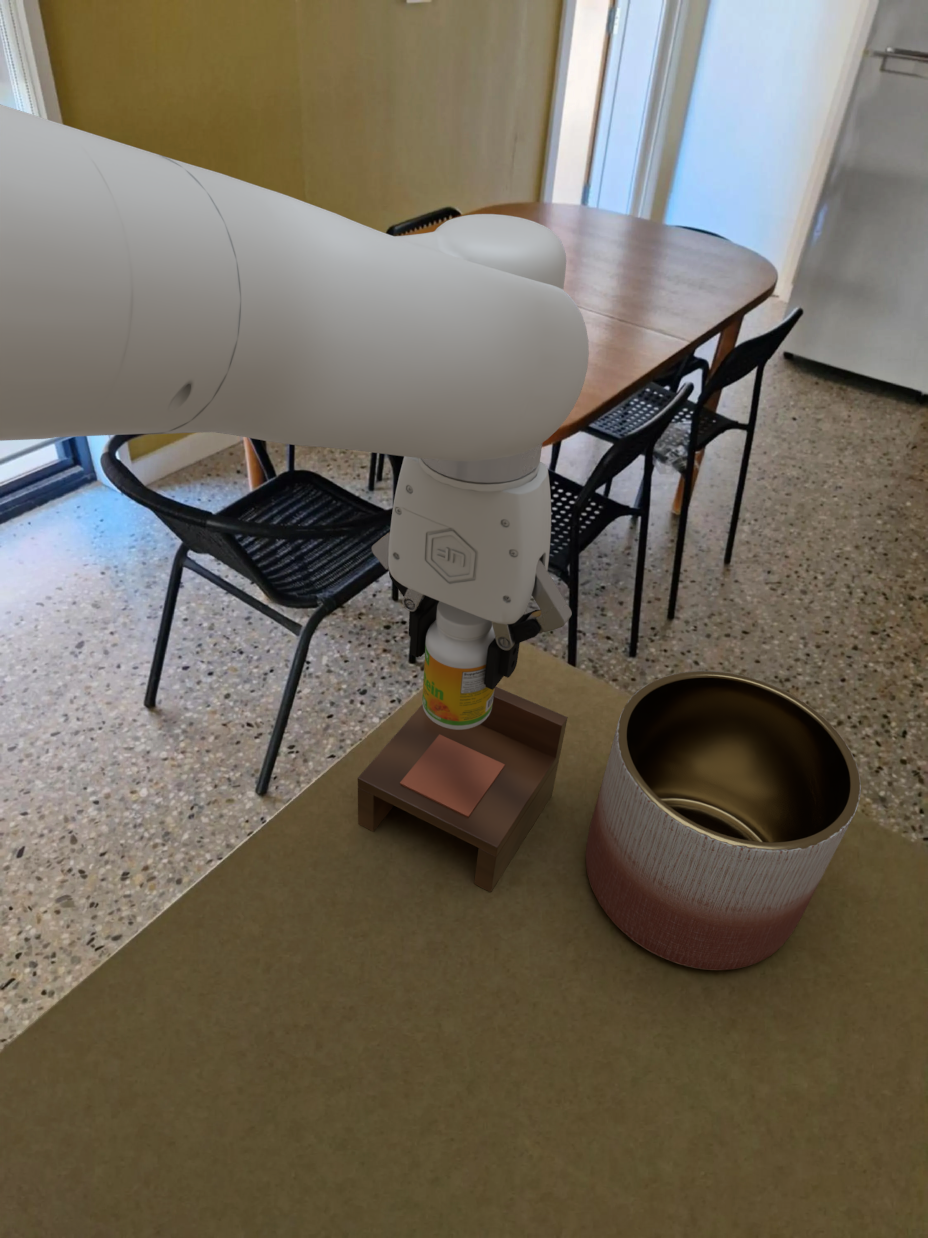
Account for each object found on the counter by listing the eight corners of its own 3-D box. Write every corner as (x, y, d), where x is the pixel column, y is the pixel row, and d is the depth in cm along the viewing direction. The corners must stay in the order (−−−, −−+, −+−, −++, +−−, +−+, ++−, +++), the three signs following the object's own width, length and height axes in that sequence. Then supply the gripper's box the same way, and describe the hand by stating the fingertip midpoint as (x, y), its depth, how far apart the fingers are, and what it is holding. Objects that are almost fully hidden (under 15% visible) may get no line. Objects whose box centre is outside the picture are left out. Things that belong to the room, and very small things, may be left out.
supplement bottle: (410, 693, 69) (414, 594, 63) (471, 675, 71) (481, 577, 65) (441, 740, 65) (448, 640, 59) (504, 719, 67) (517, 620, 61)
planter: (540, 879, 73) (566, 749, 63) (655, 764, 84) (693, 638, 74) (730, 1026, 65) (795, 902, 55) (832, 877, 75) (902, 751, 65)
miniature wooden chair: (490, 893, 72) (502, 814, 66) (357, 824, 76) (356, 744, 70) (552, 794, 80) (567, 717, 74) (429, 737, 85) (434, 659, 78)
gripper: (327, 423, 54) (335, 647, 66) (586, 510, 48) (544, 740, 60) (394, 381, 59) (390, 595, 71) (634, 455, 54) (587, 676, 65)
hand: (461, 659), depth 65 cm, fingers closed on supplement bottle, 5 cm apart
